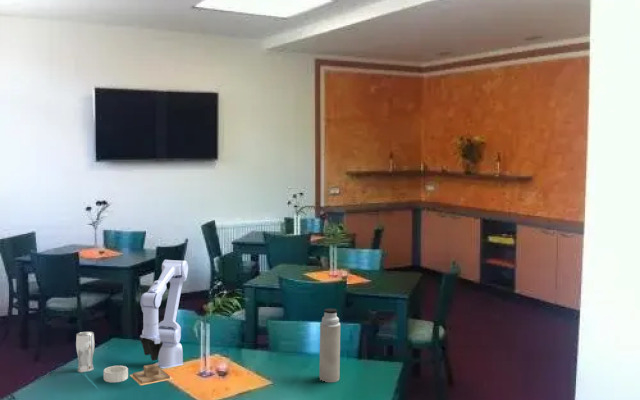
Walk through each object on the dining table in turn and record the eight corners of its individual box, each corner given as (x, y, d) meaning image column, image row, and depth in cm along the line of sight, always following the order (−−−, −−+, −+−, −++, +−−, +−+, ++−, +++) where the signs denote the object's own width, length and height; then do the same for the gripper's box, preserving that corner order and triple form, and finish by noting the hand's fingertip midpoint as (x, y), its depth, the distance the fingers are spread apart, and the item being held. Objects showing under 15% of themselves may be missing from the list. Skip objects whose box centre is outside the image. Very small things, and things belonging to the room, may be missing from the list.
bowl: (123, 374, 260) (123, 364, 260) (130, 380, 253) (130, 370, 253) (101, 378, 255) (101, 368, 255) (108, 385, 248) (107, 374, 248)
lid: (159, 370, 263) (159, 359, 263) (169, 378, 254) (169, 367, 254) (132, 375, 257) (132, 364, 257) (142, 383, 248) (142, 372, 248)
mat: (161, 370, 265) (161, 369, 265) (173, 380, 254) (173, 378, 254) (129, 376, 258) (129, 375, 257) (140, 386, 247) (140, 385, 247)
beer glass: (88, 373, 260) (88, 336, 259) (73, 372, 261) (72, 335, 260) (98, 368, 267) (97, 332, 265) (82, 366, 268) (82, 330, 267)
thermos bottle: (323, 374, 263) (324, 306, 261) (342, 376, 261) (343, 308, 258) (316, 380, 256) (317, 310, 253) (335, 383, 253) (337, 312, 251)
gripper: (134, 320, 258) (134, 354, 259) (147, 329, 246) (147, 364, 247) (151, 318, 262) (152, 351, 263) (165, 326, 250) (165, 361, 251)
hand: (151, 357), depth 255 cm, fingers open, 7 cm apart
